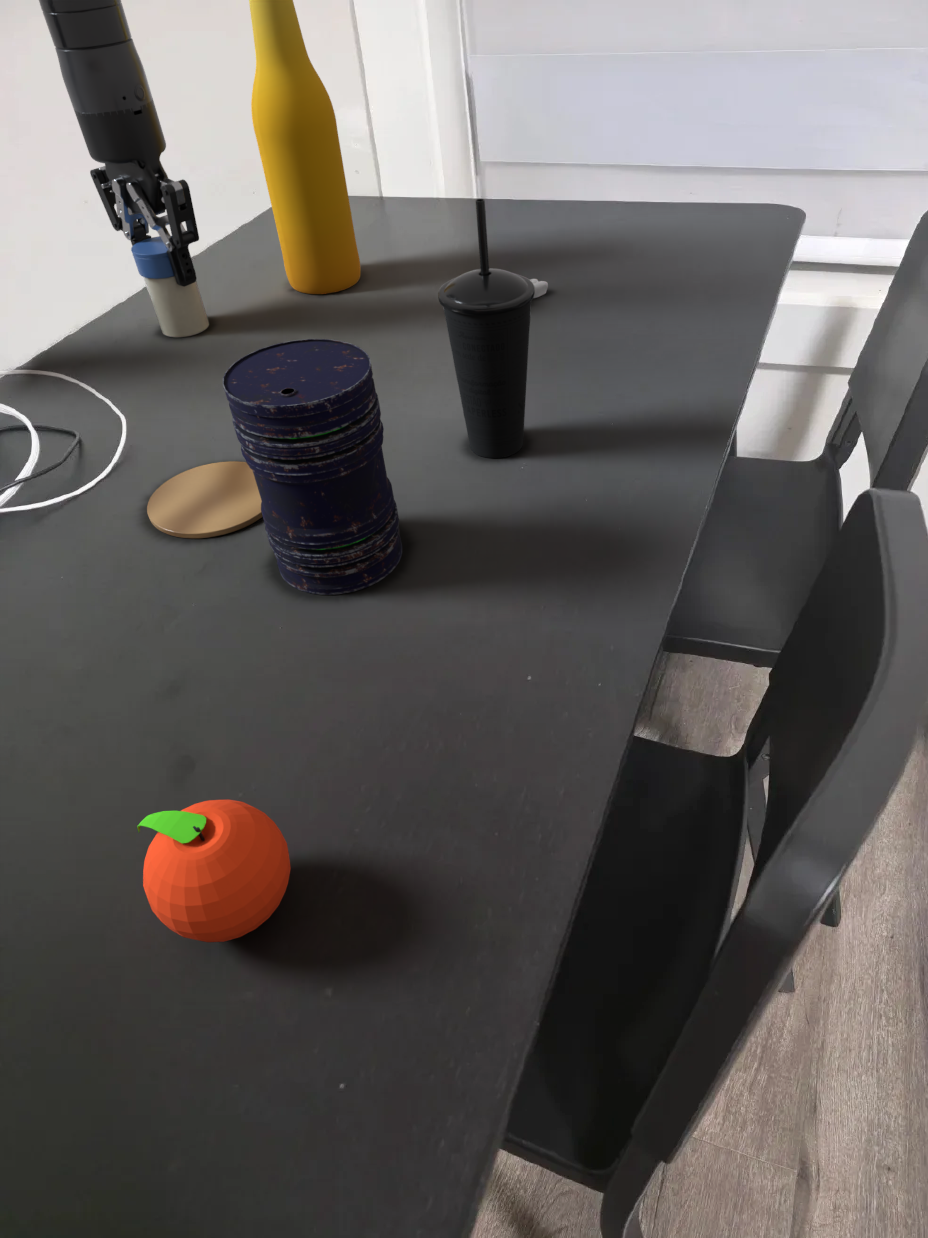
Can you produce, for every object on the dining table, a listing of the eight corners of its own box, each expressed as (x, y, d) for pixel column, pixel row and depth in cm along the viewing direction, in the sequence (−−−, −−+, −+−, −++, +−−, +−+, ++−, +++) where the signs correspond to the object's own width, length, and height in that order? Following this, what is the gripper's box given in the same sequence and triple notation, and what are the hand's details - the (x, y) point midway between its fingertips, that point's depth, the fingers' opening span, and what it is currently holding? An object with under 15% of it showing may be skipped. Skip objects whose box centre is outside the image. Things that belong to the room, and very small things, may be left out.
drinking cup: (473, 475, 73) (449, 224, 58) (442, 435, 78) (414, 195, 63) (553, 453, 74) (549, 204, 60) (518, 416, 80) (507, 178, 65)
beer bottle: (375, 282, 105) (328, -16, 85) (307, 301, 102) (242, -4, 81) (342, 262, 111) (291, -22, 90) (277, 280, 108) (209, -11, 87)
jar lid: (196, 256, 96) (189, 233, 94) (190, 275, 92) (182, 251, 90) (143, 261, 95) (136, 238, 94) (134, 281, 91) (126, 256, 90)
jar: (158, 339, 96) (130, 259, 90) (165, 320, 100) (139, 242, 94) (206, 334, 97) (182, 254, 90) (211, 316, 100) (188, 237, 94)
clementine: (126, 936, 43) (67, 860, 38) (205, 829, 48) (162, 748, 43) (257, 986, 41) (214, 913, 36) (328, 869, 46) (298, 789, 40)
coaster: (126, 536, 69) (124, 531, 68) (179, 464, 76) (177, 459, 76) (255, 540, 67) (253, 535, 67) (295, 467, 75) (294, 462, 75)
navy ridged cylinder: (292, 519, 69) (242, 340, 59) (410, 516, 69) (382, 335, 58) (263, 597, 62) (201, 409, 52) (395, 595, 62) (359, 405, 51)
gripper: (37, 101, 84) (103, 277, 96) (123, 115, 77) (183, 302, 89) (102, 85, 88) (158, 256, 100) (189, 97, 81) (237, 279, 93)
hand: (169, 277), depth 94 cm, fingers closed on jar lid, 5 cm apart
